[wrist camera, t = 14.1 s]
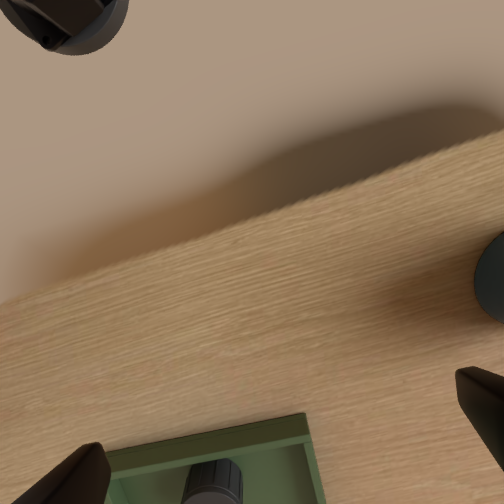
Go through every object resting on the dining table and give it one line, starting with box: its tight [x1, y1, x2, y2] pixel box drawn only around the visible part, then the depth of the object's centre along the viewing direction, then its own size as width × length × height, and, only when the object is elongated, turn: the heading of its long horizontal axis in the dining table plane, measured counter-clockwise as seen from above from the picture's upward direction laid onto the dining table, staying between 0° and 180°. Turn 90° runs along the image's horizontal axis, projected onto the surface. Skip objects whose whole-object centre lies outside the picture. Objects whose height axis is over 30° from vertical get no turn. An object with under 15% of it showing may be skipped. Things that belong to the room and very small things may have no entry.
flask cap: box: [181, 458, 243, 504], centre depth 22 cm, size 4×4×3 cm
